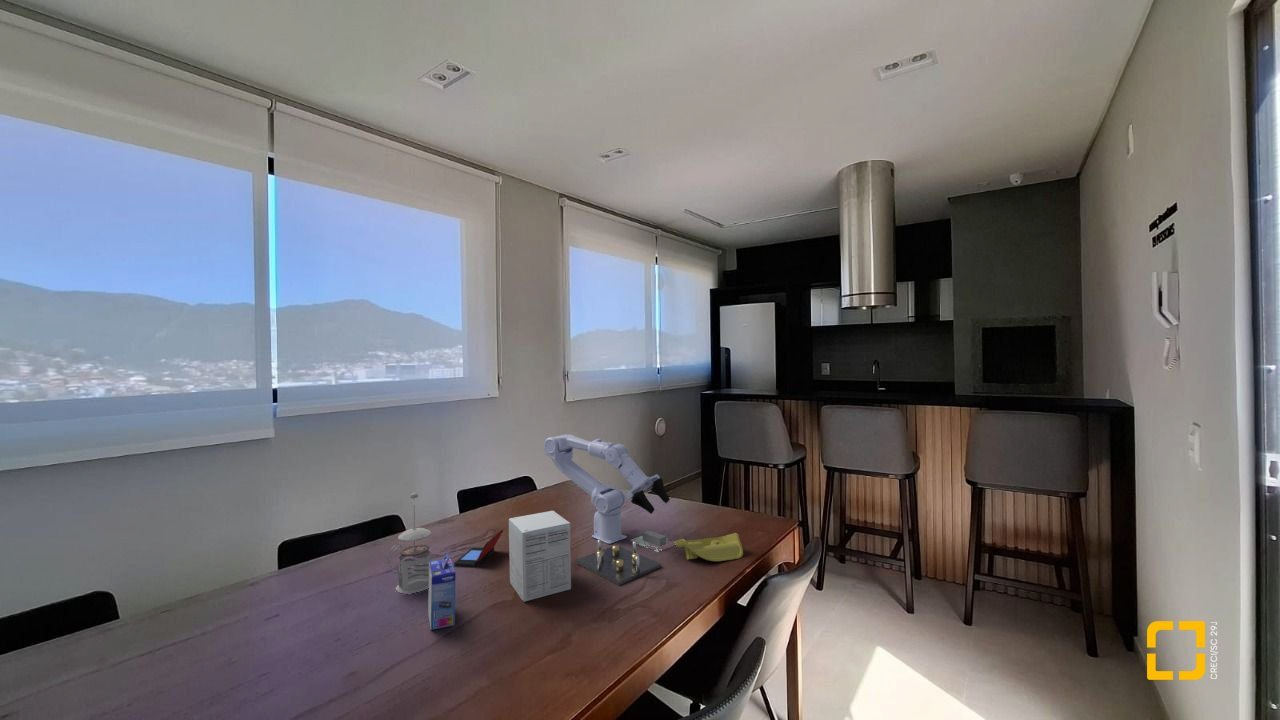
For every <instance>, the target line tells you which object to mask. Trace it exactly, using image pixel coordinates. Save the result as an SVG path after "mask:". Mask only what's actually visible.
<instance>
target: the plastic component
mask: <svg viewBox="0 0 1280 720" xmlns="http://www.w3.org/2000/svg"><path fill="white" fill-rule="evenodd" d="M740 539H741V538H740V536H739V534H738V533H737V532H734V533H730V534H726V535H723V536H716V537H714V536H713V537H709V538H708V537H706V538H698V539H689V540H688V539H687V540H685V539H684V538H680V539H677V540H675V541H674V540H673V541H674V543H675V545H676V546H675V547H677V548H684V551H685V557H686V560H694V559H698V558H699V557H700V558H702V559H703V560H706V561H710V562H723V561H732V560H737V559H740V558H742V557H743V555H744V549H743V545H742V543H741V540H740Z"/></svg>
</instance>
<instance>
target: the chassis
mask: <svg viewBox="0 0 1280 720" xmlns="http://www.w3.org/2000/svg"><path fill="white" fill-rule="evenodd" d="M576 563H577V564H576ZM575 564H576V565H578V564H579V565H578V566H580V565H581V566H580V567H582V568H584V567H585V568H584V569H586V570H587V571H590V572H591V573H594V574H596V575H597V574H598V576H599V575H600V576H599V577H601V576H602V577H601V578H603V577H604V580H605V579H606V580H607V581H609V582H611V583H613V584H615V585H617V586H621V585H624V584H627V583H628V582H631V581H633V580H635V579H637V578H639V577H640V578H641V577H642V576H644V575H647V574H649V573H651V572H654V571H656V570H658V569H660V568H662V563H660V562H658V561H656V560H654V559H651V558H648V557H646V556H644V555H641V554H639V553H637V544H636V541H633V542H632V551H631V550H629V549H628V548H624V547H622V546H620V545H619V544H613V545H612V546H611V547H608V548H605V549H602V541H601V540H598V539H597V551H596V552H593V553H591V554H588V555H585V556H583V557H580V558H577V559H575Z"/></svg>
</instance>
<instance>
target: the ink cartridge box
mask: <svg viewBox="0 0 1280 720" xmlns="http://www.w3.org/2000/svg"><path fill="white" fill-rule="evenodd" d="M456 574H457V573H456V569H455V566H454V562H453V559H452V557H450V554H449V552H447V553H446V554H445V556H444V557H443V558H442V559H436V560H430V562H429V589H428V596H427V597H428V600H427V602H428V603H427V605H428V606H427V607H428V610H427V612H428V613H427V615H428V620H429V628H430V631H433V630H437V629H444V628H448V627H453V626H455V625H456V579H457V578H456V576H457V575H456Z"/></svg>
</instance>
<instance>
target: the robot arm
mask: <svg viewBox="0 0 1280 720" xmlns="http://www.w3.org/2000/svg"><path fill="white" fill-rule="evenodd" d="M543 444H544V447H543V448H544V452H545V453H544V454H545V455H546V456H548V457H549V458H550V460H552V462H553V464H554V465H555V467H556V468H557V470H558V471H559V472H561V473H562V474H563V475H564V476H565V477H567V478H568V479H569V480H570V481H572V482H573V483H574V484H576V485H577V486H578V487H579V488H580V489H582V490H583V491H584V492H585V493H587V495H589V496H590V497H591V499H590V503H591V504H592V505H593V506H594V507H595V508H596V509H595V510H596V511H595V513H594V516H593V534H592V535H591V537H592V538H594V539H596V540H597V541H598V540H601V542H603V543H605V544H608V545H611V544H613V543H615V542H618V541H621V540H622V541H623V540H624V539H627V535H624V534H622V508H623V506H624V505H625V501H626V498H627V499H628V500H629V501H630V503H631V504H634V505H636V506H639V507H640V508H642V509H644V510H645V511H646V512H648V513H649V514H653V513H654V511H655V507H654V506H653V504H652V503H651V502H650V501H649V499H648V498H647V496H646V494H645V492H644V491H645V490H646V489H648V488H650V487H651V489H650V492H653V493H654V494H655V495H656V496H658V497H659V498H660V499H661V500H662V502H663V503H665V504H668V502H669V501H670V496H669V495H668V493H667V491H666V488H665V486H664V482H663V479H662V478H661V477H660V476H659V474H657V473H656V474H654V475H651V476H650V477H649V476H647V475H646V474H645V473H644V472H643V470H642V469H641V468H640V467H639V466H638V465H637V464H636V462H635V461H634V460H633V459H632V457H630V455H629V454H628V453H629V451H628V449H627V447H626V445H624V444H622V443H616V444H614V443H613V442H610V441H609V442H606V441H602V439H601V438H596V439H594V440H592V441H589V440H586V439H583V438H582V437H579V436H578V437H577V436H574V435H573V434H568V433H565V434H561V435H558V436H557V435H556V436H550V437H547V438H546V439H545V441H544V443H543ZM574 449H576V450H580V451H581V450H582V451H585V452H588V454H589V455H590V456H591V457H594V458H597V459H600V460H605V462H606V463H607V464H608V465H612V466H613V467H614V468H615V469H617V470H618V472H619V473H620V474H621V475H622V476H623V478H624V479H625V480H626V481H627V483H628V484H629V485H630V486H631V487H632V488H631V489H630V490H629V491H627V493H626V494H624V492H623V491H622V490H620V489H618V488H614V487H613V486H611V485H607V484H602V482H600V481H599V480H598V479H596V478H595V477H594V476H593V475H591V474H590V473H589V472H587V470H585V469H584V468H582V467H581V466H580V465H578V464H577V463H576V462H575V461H573V460H572V459H573V457H574V455H573V454H574ZM625 497H626V498H625Z"/></svg>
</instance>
